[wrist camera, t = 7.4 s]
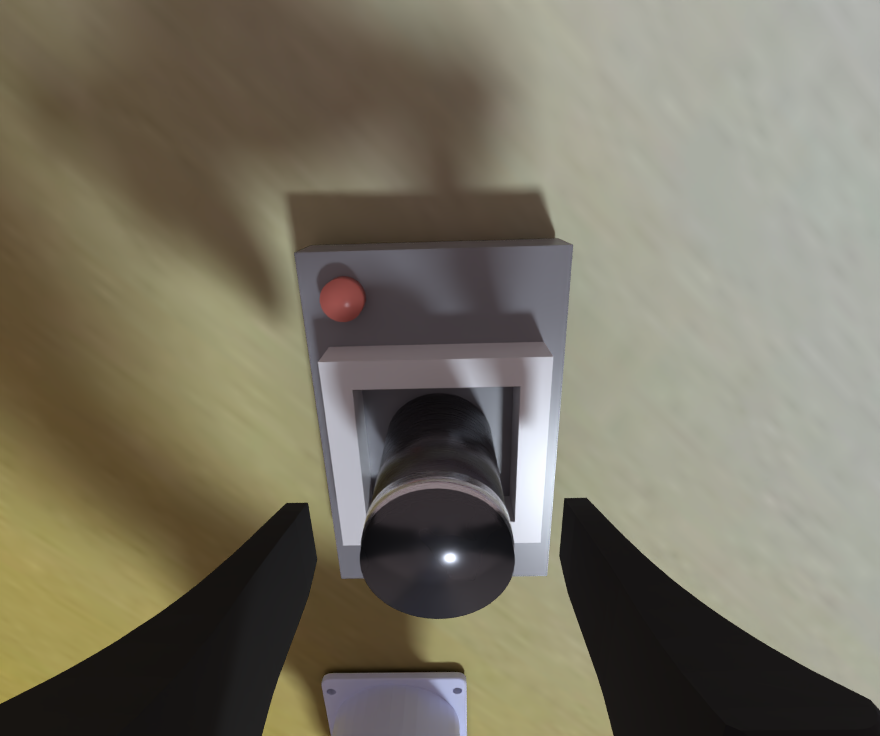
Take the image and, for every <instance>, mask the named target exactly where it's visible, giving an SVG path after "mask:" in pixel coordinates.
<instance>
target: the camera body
mask: <svg viewBox="0 0 880 736" xmlns="http://www.w3.org/2000/svg"><path fill="white" fill-rule="evenodd" d="M572 252H573V245H572V244H570V243H568V242H565V241H563V240H561V239H559V238H553V239H518V240H482V241H447V242H411V243H376V244H340V245H311V246H308V247H306V248H304V249H301V250H299V251H297V252H295V253H294V255H295V262H296V269H297V276H298V282H299V289H300V296H301V303H302V310H303V317H304V324H305V331H306V338H307V345H308V352H309V358H310V365H311V372H312V379H313V386H314V393H315V400H316V407H317V414H318V421H319V428H320V434H321V441H322V448H323V455H324V462H325V469H326V476H327V483H328V490H329V497H330V504H331V510H332V517H333V524H334V531H335V538H336V545H337V552H338V559H339V566H340V573H341V579H347V578H363V575H362V572H361V567H360V550H361V538H362V532H363V528H364V524H365V520H366V515H367V513H368V510H369V507H370V506H371V501H372V497H373V493H374V488H375V484H376V479H377V475H378V471H379V466H380V462H381V457H382V453H383V449H384V444H385V440H386V436H387V431H388V427H389V424H390V422H391V420H392V418H393V416H394V415H395V414H396V412H397V411H398V410H399V409H400V408H401V407H402V406H403V405H405V404H406V403H407V402H409V401H411V400H412V399H414V398H417V397H419V396H423V395H426V394H432V393H446V394H452V395H456V396H459V397H462V398H464V399H466V400H468V401H469V402H471V403H473V404H474V405H475V406H476V407H478V408H479V409H480V411H481V412H482V413H483V414H484V416H485V417H486V419H487V421H488V423H489V425H490V428H491V433H492V438H493V443H494V448H495V454H496V459H497V464H498V469H499V475H500V480H501V485H502V490H503V496H504V501H505V506H506V509H507V511H508V514H509V517H510V522H511V528H512V533H513V538H514V554H515V566H514V572H513V575H512V576H547V570H548V557H549V545H550V532H551V519H552V506H553V494H554V481H555V468H556V455H557V443H558V430H559V417H560V404H561V392H562V379H563V366H564V354H565V341H566V328H567V315H568V303H569V290H570V277H571V264H572Z"/></svg>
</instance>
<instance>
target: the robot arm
mask: <svg viewBox="0 0 880 736" xmlns="http://www.w3.org/2000/svg"><path fill="white" fill-rule="evenodd" d="M559 556H560V561H561V565H562V570H563V575H564V579H565V583H566V587H567V591H568V594H569V597H570V600H571V603H572V606H573V609H574V612H575V615H576V618H577V620H578V623H579V626H580V629H581V632H582V634H583V637H584V640H585V643H586V646H587V648H588V651H589V654H590V657H591V660H592V662H593V665H594V668H595V671H596V674H597V677H598V680H599V683H600V686H601V690H602V693H603V696H604V700H605V704H606V708H607V712H608V715H609V719H610V723H611V727H612V731H613V735H614V736H880V710H879V709H878V708H877V707H876V706H875V705H874V704H873V702H872V701H871V700H870V699H868V698H866V697H864V696H862V695H860V694H858V693H856V692H854V691H852V690H850V689H848V688H846V687H844V686H842V685H840V684H838V683H836V682H834V681H832V680H830V679H828V678H826V677H824V676H822V675H820V674H818V673H816V672H814V671H812V670H810V669H808V668H806V667H805V666H803V665H801V664H799V663H797V662H796V661H794V660H792V659H790V658H789V657H787V656H785V655H783V654H782V653H780V652H778V651H776V650H775V649H773V648H771V647H769V646H768V645H766V644H764V643H763V642H761V641H759V640H758V639H756V638H755V637H753V636H751V635H750V634H748V633H747V632H745V631H744V630H742V629H740V628H739V627H737V626H736V625H734V624H733V623H731V622H730V621H728V620H727V619H725V618H724V617H722V616H721V615H719V614H718V613H716V612H715V611H713V610H712V609H711V608H709V607H708V606H706V605H705V604H704V603H702V602H701V601H700V600H698V599H697V598H696V597H694V596H693V595H692V594H690V593H689V592H688V591H686V590H685V589H684V588H682V587H681V586H680V585H679V584H677V583H676V582H675V581H673V580H672V579H671V578H670V577H669V576H667V575H666V574H665V573H664V572H663V571H662V570H660V569H659V568H658V567H657V566H656V565H655V564H653V563H652V562H651V561H650V560H649V559H648V558H647V557H646V556H644V555H643V554H642V553H641V552H640V551H639V550H638V549H637V548H636V547H635V546H634V545H633V544H632V543H631V542H630V541H629V540H628V539H627V538H625V537H624V536H623V535H622V534H621V533H620V532H619V531H618V530H617V529H616V528H615V527H614V526H613V524H612V523H611V522H610V521H609V520H608V519H607V518H606V517H605V516H604V515H603V514H602V513H601V512H600V511H599V510H598V509H597V508H596V507H595V506H594V505H593V504H592V503H591V502H590V501H589V500H588V499H587V498H564V509H563V520H562V532H561V543H560V555H559ZM316 562H317V555H316V549H315V543H314V537H313V531H312V525H311V519H310V513H309V507H308V503H286V504H285V505H284V506H283V507H282V508H281V509H280V510H279V511H278V512H277V513H276V514H275V515H274V516H272V517H271V518H270V519H269V520H268V521H267V522H266V523H265V524H264V525H263V526H262V527H261V528H260V529H259V530H258V531H257V532H256V533H255V534H254V535H253V536H252V537H251V538H250V539H249V540H248V541H246V542H245V543H244V544H243V545H242V546H241V547H240V548H239V549H238V550H237V551H236V552H235V553H234V554H233V555H231V556H230V557H229V558H228V559H227V560H226V561H224V562H223V563H222V564H221V565H220V566H219V567H217V568H216V569H215V570H214V571H213V572H212V573H210V574H209V575H208V576H207V577H206V578H205V579H204V580H202V581H201V582H200V583H199V584H197V585H196V586H195V587H194V588H192V589H191V590H190V591H188V592H187V593H186V594H185V595H183V596H182V597H181V598H179V599H178V600H177V601H175V602H174V603H172V604H171V605H170V606H168V607H167V608H166V609H164V610H163V611H161V612H160V613H159V614H157V615H156V616H154V617H153V618H151V619H150V620H148V621H147V622H145V623H144V624H142V625H140V626H139V627H137V628H136V629H134V630H133V631H131V632H130V633H128V634H127V635H125V636H124V637H122V638H121V639H119V640H118V641H116V642H114V643H113V644H111V645H109V646H108V647H106V648H104V649H103V650H101V651H99V652H98V653H96V654H94V655H93V656H91V657H89V658H87V659H86V660H84V661H82V662H80V663H78V664H77V665H75V666H73V667H71V668H70V669H68V670H66V671H64V672H62V673H60V674H59V675H57V676H55V677H53V678H51V679H49V680H47V681H45V682H43V683H41V684H39V685H37V686H35V687H33V688H31V689H29V690H27V691H25V692H23V693H21V694H19V695H17V696H15V697H13V698H11V699H9V700H7V701H5V702H3V703H1V704H0V736H262V733H263V729H264V725H265V722H266V718H267V714H268V710H269V707H270V703H271V699H272V696H273V693H274V690H275V687H276V684H277V681H278V678H279V675H280V672H281V670H282V667H283V664H284V662H285V659H286V656H287V653H288V651H289V648H290V645H291V643H292V640H293V637H294V635H295V632H296V629H297V626H298V624H299V621H300V618H301V615H302V613H303V610H304V607H305V604H306V602H307V599H308V596H309V592H310V588H311V584H312V580H313V576H314V571H315V567H316ZM322 691H323V696H324V701H325V707H326V712H327V717H328V722H329V728H330V733H331V736H467V694H466V676H465V675H464V674H463V673H460V672H402V673H329V674H326V675H324V677H323V680H322Z"/></svg>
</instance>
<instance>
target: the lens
mask: <svg viewBox="0 0 880 736" xmlns="http://www.w3.org/2000/svg"><path fill="white" fill-rule="evenodd" d="M514 566H515V554H514V538H513V533H512V528H511V522H510V517H509V514H508V511H507V509H506V506H505V501H504V496H503V490H502V485H501V480H500V475H499V469H498V464H497V459H496V454H495V448H494V443H493V438H492V433H491V428H490V425H489V423H488V421H487V419H486V417H485V416H484V414H483V413H482V412H481V411H480V409H479V408H478V407H476V406H475V405H474V404H473V403H471V402H469V401H468V400H466V399H464V398H462V397H459V396H456V395H452V394H446V393H432V394H426V395H423V396H419V397H417V398H414V399H412V400H411V401H409V402H407V403H406V404H405V405H403V406H402V407H401V408H400V409H399V410H398V411H397V412H396V414H395V415H394V416H393V418H392V420H391V422H390V424H389V427H388V431H387V436H386V440H385V444H384V449H383V453H382V457H381V462H380V466H379V471H378V475H377V479H376V484H375V488H374V493H373V497H372V501H371V506H370V507H369V510H368V513H367V515H366V520H365V524H364V528H363V532H362V538H361V550H360V567H361V572H362V575H363V578H364V579H365V581H366V583H367V585H368V586H369V588H370V589H371V590H372V592H373V593H374V594H375V595H376V596H377V597H378V598H379V599H381V600H382V601H383V602H384V603H386V604H387V605H389V606H391V607H392V608H394V609H396V610H398V611H401V612H403V613H406V614H409V615H413V616H417V617H422V618H431V619H446V618H454V617H459V616H464V615H467V614H470V613H473V612H475V611H477V610H480V609H482V608H483V607H485V606H487V605H488V604H490V603H491V602H493V601H494V600H495V599H496V598H497V597H498V596H499V595H500V594H501V593H502V592H503V591H504V590H505V588H506V587H507V585H508V584H509V582H510V580H511V578H512V575H513V572H514Z"/></svg>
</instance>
